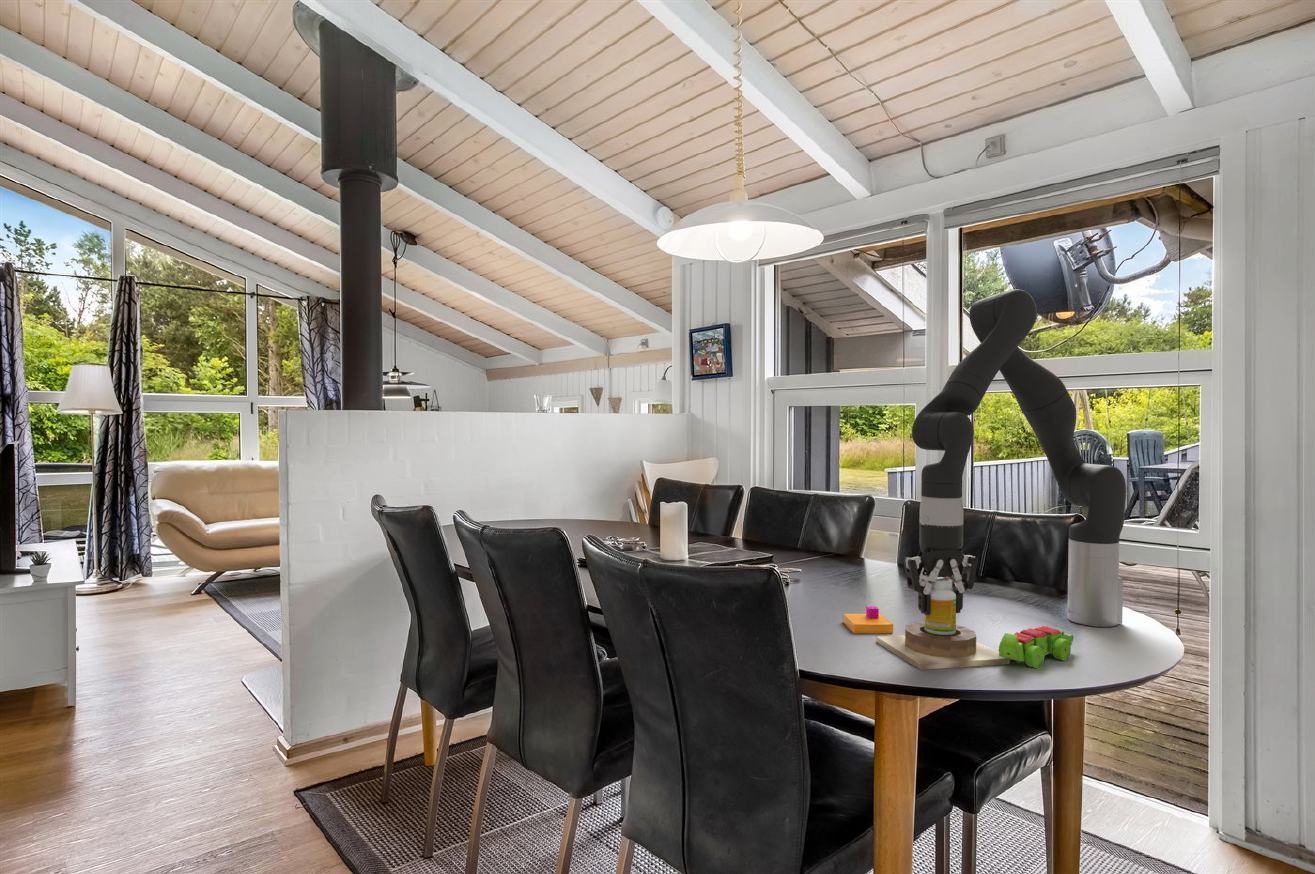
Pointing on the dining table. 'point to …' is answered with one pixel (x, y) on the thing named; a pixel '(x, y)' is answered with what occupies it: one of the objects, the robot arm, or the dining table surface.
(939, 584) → the supplement bottle
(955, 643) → the wooden ring
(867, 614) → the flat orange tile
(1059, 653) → the toy crocodile
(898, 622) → the dining table surface
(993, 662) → the flat beige square board
